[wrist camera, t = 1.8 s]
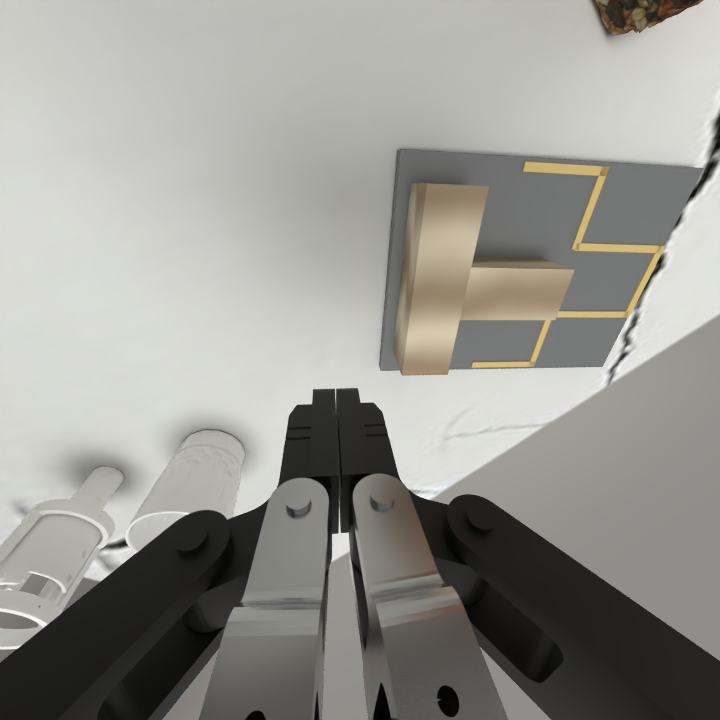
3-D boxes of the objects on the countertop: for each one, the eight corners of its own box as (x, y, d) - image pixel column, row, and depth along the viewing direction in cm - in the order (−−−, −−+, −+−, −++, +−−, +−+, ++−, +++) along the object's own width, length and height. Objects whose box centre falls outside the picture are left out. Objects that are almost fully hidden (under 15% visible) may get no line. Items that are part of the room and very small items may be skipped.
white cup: (248, 426, 33) (222, 511, 24) (251, 475, 37) (229, 564, 28) (170, 423, 32) (113, 512, 23) (181, 475, 36) (136, 568, 27)
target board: (397, 150, 22) (401, 148, 21) (690, 168, 25) (706, 167, 24) (379, 365, 31) (381, 371, 30) (595, 362, 33) (603, 367, 32)
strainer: (55, 467, 33) (-115, 648, 20) (109, 444, 32) (-33, 618, 20) (107, 502, 37) (-11, 676, 24) (156, 483, 36) (63, 651, 23)
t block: (411, 183, 22) (427, 183, 19) (563, 190, 23) (604, 192, 20) (392, 352, 29) (401, 375, 26) (511, 351, 30) (534, 372, 27)
